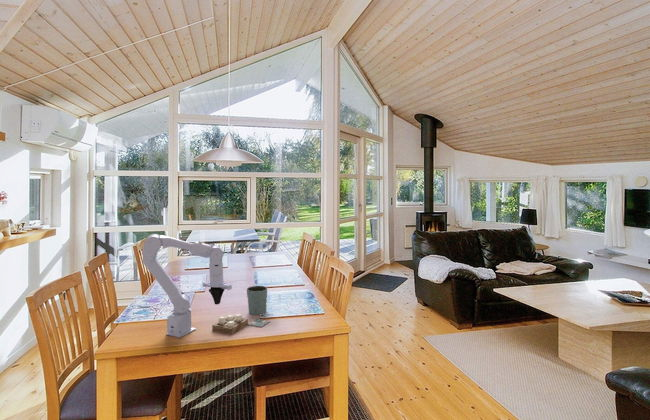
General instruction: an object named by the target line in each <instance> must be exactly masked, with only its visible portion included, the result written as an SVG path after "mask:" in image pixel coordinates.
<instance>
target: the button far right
mask: <svg viewBox="0 0 650 420" xmlns="http://www.w3.org/2000/svg"><path fill="white" fill-rule="evenodd" d="M235 317H236V322H238V323H240V322H242V318H243V314H241V313H237V314H235Z"/></svg>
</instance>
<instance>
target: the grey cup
mask: <svg viewBox="0 0 650 420" xmlns="http://www.w3.org/2000/svg"><path fill="white" fill-rule="evenodd" d="M246 294H247V295H246V297H247V306H248V314H249V315H252V316H261V315H260V314H262V315H264V314H266V313H265V312H267V306H268V305H267V303H268V302H267V300H268V299H267V298H268V287H267V286H265V285H253V286H250V287H248V288H246ZM263 313H264V314H263Z"/></svg>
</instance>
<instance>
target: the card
mask: <svg viewBox="0 0 650 420" xmlns="http://www.w3.org/2000/svg"><path fill="white" fill-rule="evenodd" d="M270 322H271V321H270V320H268V319H266V320H265V319H260V318H255V319H254V320H252V321H250V322H248V325H247V326H253V327H258V328H262V327H264V326H266V325H268V324H269V323H270Z"/></svg>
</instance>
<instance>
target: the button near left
mask: <svg viewBox="0 0 650 420" xmlns="http://www.w3.org/2000/svg"><path fill="white" fill-rule="evenodd" d="M225 318H226V316H218V322H219V325H224V324H225Z"/></svg>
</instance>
